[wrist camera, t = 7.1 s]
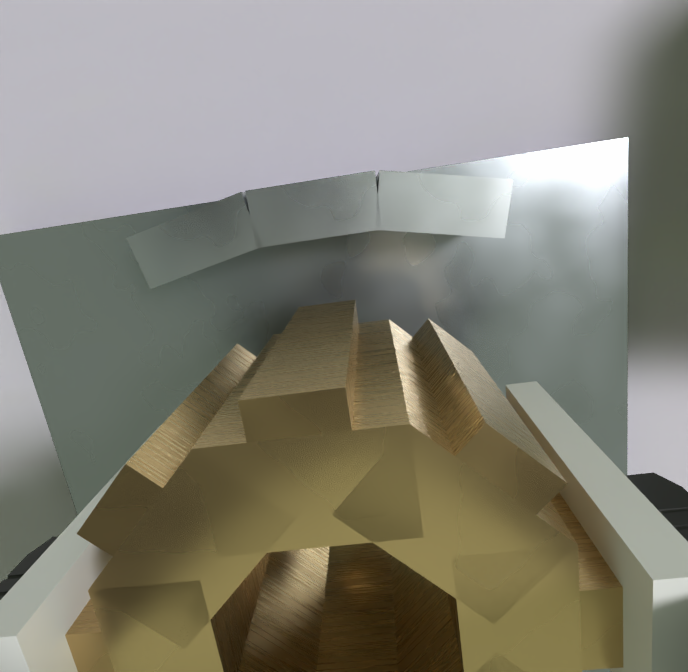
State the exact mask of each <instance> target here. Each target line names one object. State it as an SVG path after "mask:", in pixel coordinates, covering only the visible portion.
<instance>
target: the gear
mask: <svg viewBox="0 0 688 672" xmlns="http://www.w3.org/2000/svg"><path fill="white" fill-rule="evenodd" d="M567 484H568V483H567V482H566V480H565V479H564V477H563V476H562V475H561V473H560V472H559V471H558V469H557V468H556V466H555V465H554V464H553V462H552V461H551V460H550V458H549V457H548V455H547V454H546V453H545V451H544V450H543V448H542V447H541V446H540V444H539V443H538V442H537V440H536V439H535V437H534V436H533V435H532V433H531V432H530V430H529V429H528V428H527V426H526V425H525V424H524V422H523V421H522V419H521V418H520V417H519V415H518V414H517V412H516V411H515V410H514V408H513V407H512V406H511V404H510V403H509V401H508V400H507V399H506V397H505V396H504V395H503V393H502V392H501V390H500V389H499V388H498V386H497V385H496V383H495V382H494V381H493V379H492V378H491V377H490V375H489V374H488V372H487V371H486V370H485V368H484V367H483V365H482V364H481V363H480V361H479V360H478V359H477V357H476V356H475V354H474V353H473V352H472V351H471V350H470V349H468V348H467V347H466V346H464V345H463V344H462V343H460V342H459V341H458V340H457V339H455V338H454V337H453V336H451V335H450V334H449V333H447V332H446V331H445V330H443V329H442V328H441V327H439V326H438V325H437V324H435V323H434V322H433V321H431V320H430V319H429V318H428V319H427V320H426V322H425V323H424V324H423V325H422V327H421V328H420V329H419V330H418V331H417V333H416V334H415V335H414V336H413V337H412V336H411V335H410V334H408V333H407V332H406V331H404V330H403V329H402V328H400V327H399V326H397V325H396V324H395V323H393V322H392V321H391V320H389V319H386V320H379V321H371V322H364V323H359V321H358V314H357V307H356V300H347V301H340V302H333V303H325V304H318V305H311V306H303V307H299V308H298V309H297V311H296V312H295V314H294V315H293V317H292V319H291V320H290V322H289V323H288V325H287V326H286V328H285V329H284V331H283V332H282V333H280V334H274V335H273V336H272V337H271V339H270V340H269V341H268V343H267V344H266V345H265V347H264V348H263V350H262V351H261V352H260V354H259V355H258V356H257V357H256V356H255V355H253V354H252V353H250V352H249V351H248V350H246V349H245V348H243V347H242V346H241V345H239V344H238V343H237V344H236V345H235V346H234V347H233V349H232V350H231V351H230V352H229V353H228V354H227V355H226V356H225V357H224V358H223V359H222V360H221V361H220V363H219V364H218V365H217V366H216V367H215V368H214V369H213V370H212V371H211V372H210V373H209V374H208V375H207V377H206V378H205V379H204V380H203V381H202V382H201V383H200V384H199V385H198V386H197V387H196V388H195V389H194V391H193V392H192V393H191V394H190V395H189V396H188V397H187V398H186V399H185V400H184V401H183V402H182V403H181V405H180V406H179V407H178V408H177V409H176V410H175V411H174V412H173V413H172V414H171V415H170V416H169V417H168V419H167V420H166V421H165V422H164V423H163V424H162V425H161V426H160V427H159V428H158V429H157V430H156V431H155V433H154V434H153V435H152V436H151V437H150V438H149V439H148V440H147V441H146V442H145V443H144V444H143V445H142V447H141V448H140V449H139V450H138V451H137V452H136V453H135V454H134V455H133V456H132V457H131V458H130V459H129V460H128V462H127V463H126V464H125V465H124V467H123V468H122V469H121V471H120V472H119V474H118V475H117V477H116V478H115V479H114V481H113V482H112V484H111V485H110V487H109V488H108V489H107V491H106V492H105V494H104V495H103V497H102V498H101V499H100V501H99V502H98V504H97V505H96V507H95V508H94V510H93V511H92V512H91V514H90V515H89V517H88V518H87V520H86V521H85V522H84V524H83V525H82V527H81V528H80V530H79V531H78V532H77V535H79V536H80V537H82V538H84V539H85V540H87V541H89V542H90V543H92V544H93V545H95V546H97V547H98V548H100V549H101V550H103V551H105V552H106V553H108V554H109V555H111V556H112V558H111V559H110V560H109V562H108V563H107V565H106V566H105V567H104V569H103V570H102V572H101V573H100V574H99V576H98V577H97V579H96V580H95V581H94V583H93V584H92V585H91V587H90V588H89V590H88V593H89V596H90V600H89V601H88V603H87V604H86V606H85V607H84V609H83V610H82V611H81V613H80V614H79V616H78V617H77V619H76V620H75V621H74V623H73V624H72V626H71V627H70V629H69V630H68V631H67V633H66V634H65V637H66V640H67V642H68V645H69V648H70V651H71V654H72V657H73V659H74V662H75V665H76V668H77V671H78V672H582V670H595V669H609V668H622V667H623V587H622V585H621V584H620V582H619V581H618V579H617V578H616V576H615V575H614V573H613V572H612V570H611V569H610V567H609V566H608V564H607V563H606V561H605V560H604V558H603V557H602V555H601V554H600V552H599V551H598V549H597V548H596V546H595V545H594V543H593V542H592V540H591V539H590V537H589V536H588V534H587V533H586V532H585V530H584V529H583V527H582V526H581V524H580V523H579V521H578V520H577V518H576V517H575V515H574V514H573V512H572V511H571V509H570V508H569V506H568V505H567V503H566V502H565V500H564V499H563V497H562V496H561V494H560V493H559V492H560V491H561V490H562V489H563V488H564V487H565V486H566V485H567Z"/></svg>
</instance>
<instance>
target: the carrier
mask: <svg viewBox="0 0 688 672" xmlns="http://www.w3.org/2000/svg"><path fill="white" fill-rule="evenodd" d="M0 283H1V286H2V289H3V292H4V295H5V298H6V301H7V304H8V307H9V310H10V313H11V316H12V319H13V322H14V325H15V328H16V331H17V334H18V337H19V340H20V343H21V346H22V349H23V352H24V355H25V358H26V361H27V364H28V367H29V370H30V373H31V376H32V379H33V382H34V385H35V388H36V391H37V394H38V397H39V400H40V403H41V406H42V409H43V412H44V415H45V418H46V421H47V424H48V427H49V430H50V433H51V436H52V439H53V442H54V445H55V448H56V451H57V454H58V457H59V460H60V463H61V466H62V470H63V473H64V476H65V479H66V482H67V485H68V488H69V491H70V494H71V497H72V500H73V503H74V506H75V509H76V512H77V515H79V514H80V512H81V511H82V510H83V509H84V508H85V507H86V506H87V505H88V504H89V503H90V501H91V500H92V499H93V498H94V497H95V496H96V495H97V494H98V493H99V492H100V490H101V489H102V488H103V487H104V486H105V485H106V484H107V483H108V482H109V481H110V479H111V478H112V477H113V476H114V475H115V474H116V473H117V472H118V471H119V470H120V469H121V467H122V466H123V465H124V464H125V463H126V462H127V461H128V460H129V459H130V458H131V456H132V455H133V454H134V453H135V452H136V451H137V450H138V449H139V448H140V447H141V445H142V444H143V443H144V442H145V441H146V440H147V439H148V438H149V437H150V436H151V435H152V433H153V432H154V431H155V430H156V429H157V428H158V427H159V426H161V425H162V424H163V423H164V422H165V421H166V420H167V419H168V417H169V416H170V415H171V414H172V413H173V412H174V411H175V410H176V409H177V408H178V407H179V406H180V405H181V403H182V402H183V401H184V400H185V399H186V398H187V397H188V396H189V395H190V394H191V393H192V392H193V391H194V389H195V388H196V387H197V386H198V385H199V384H200V383H201V382H202V381H203V380H204V379H205V378H206V377H207V375H208V374H209V373H210V372H211V371H212V370H213V369H214V368H215V367H216V366H217V365H218V364H219V363H220V361H221V360H222V359H223V358H224V357H225V356H226V355H227V354H228V353H229V352H230V351H231V350H232V349H233V347H234V346H235V345H236V344H237V343H238V344H239V345H241V346H242V347H243V348H245V349H246V350H248V351H249V352H250V353H252V354H253V355H255V356H256V357H257V356H258V355H259V354H260V352H261V351H262V350H263V348H264V347H265V345H266V344H267V343H268V341H269V340H270V339H271V337H272V336H273V335H274V334H280V333H282V332H283V331H284V329H285V328H286V326H287V325H288V323H289V322H290V320H291V319H292V317H293V315H294V314H295V312H296V311H297V309H298V308H299V307H303V306H311V305H318V304H325V303H333V302H340V301H347V300H356V307H357V314H358V321H359V323H364V322H371V321H379V320H386V319H389V320H391V321H392V322H393V323H395V324H396V325H397V326H399V327H400V328H402V329H403V330H404V331H406V332H407V333H408V334H410V335H411V336H412V337H413V336H414V335H415V334H416V333H417V331H418V330H419V329H420V328H421V327H422V325H423V324H424V323H425V322H426V320H427V319H428V318H429V319H430V320H431V321H433V322H434V323H435V324H437V325H438V326H439V327H441V328H442V329H443V330H445V331H446V332H447V333H449V334H450V335H451V336H453V337H454V338H455V339H457V340H458V341H459V342H460V343H462V344H463V345H464V346H466V347H467V348H468V349H470V350H471V351H472V352H473V353H474V354H475V356H476V357H477V359H478V360H479V361H480V363H481V364H482V365H483V367H484V368H485V370H486V371H487V372H488V374H489V375H490V377H491V378H492V379H493V381H494V382H495V383H496V385H497V386H498V388H499V389H500V390H501V392H502V393H503V395H504V396H505V397H506V386H505V385H508V384H517V383H525V382H533V381H537V382H538V383H539V384H540V385H541V387H542V388H543V389H544V390H545V391H546V392H547V393H548V394H549V395H550V396H551V397H552V398H553V399H554V400H555V401H556V402H557V404H558V405H559V406H560V407H561V408H562V409H563V410H564V411H565V412H566V413H567V414H568V415H569V416H570V417H571V418H572V419H573V420H574V422H575V423H576V424H577V425H578V426H579V427H580V428H581V429H582V430H583V431H584V432H585V433H586V434H587V435H588V436H589V437H590V439H591V440H592V441H593V442H594V443H595V444H596V445H597V446H598V447H599V448H600V449H601V450H602V451H603V452H604V453H605V454H606V455H607V457H608V458H609V459H610V460H611V461H612V462H613V463H614V464H615V465H616V466H617V467H618V468H619V469H620V470H621V471H622V472H623V474H624V475H625V476H627V377H628V137H626V138H620V139H613V140H607V141H601V142H594V143H588V144H581V145H575V146H568V147H562V148H556V149H549V150H543V151H536V152H530V153H524V154H517V155H511V156H504V157H498V158H491V159H485V160H479V161H472V162H466V163H459V164H453V165H446V166H440V167H434V168H427V169H421V170H414V171H408V172H396V171H381V170H380V171H379V173H378V175H377V176H376V177H375V171H369V172H363V173H357V174H350V175H344V176H338V177H331V178H325V179H318V180H312V181H306V182H299V183H293V184H286V185H280V186H274V187H267V188H261V189H255V190H248V191H245V192H240V193H237V194H235V195H232V196H230V197H227V198H225V199H222V200H220V201H215V202H209V203H203V204H196V205H190V206H183V207H177V208H170V209H164V210H158V211H151V212H145V213H138V214H132V215H126V216H119V217H113V218H106V219H100V220H93V221H87V222H81V223H74V224H68V225H61V226H55V227H48V228H42V229H36V230H29V231H23V232H16V233H10V234H4V235H0ZM582 672H611V671H610V669H595V670H582Z"/></svg>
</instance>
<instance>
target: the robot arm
mask: <svg viewBox="0 0 688 672" xmlns="http://www.w3.org/2000/svg"><path fill="white" fill-rule="evenodd" d="M505 386H506V399H507V400H508V401H509V403H510V404H511V406H512V407H513V408H514V410H515V411H516V412H517V414H518V415H519V417H520V418H521V419H522V421H523V422H524V424H525V425H526V426H527V428H528V429H529V430H530V432H531V433H532V435H533V436H534V437H535V439H536V440H537V442H538V443H539V444H540V446H541V447H542V448H543V450H544V451H545V453H546V454H547V455H548V457H549V458H550V460H551V461H552V462H553V464H554V465H555V466H556V468H557V469H558V471H559V472H560V473H561V475H562V476H563V477H564V479H565V480H566V482H567V483H568V484H567V485H566V486H565V487H564V488H563V489H562V490H561V491H560V492H559V493H560V494H561V496H562V497H563V499H564V500H565V502H566V503H567V505H568V506H569V508H570V509H571V511H572V512H573V514H574V515H575V517H576V518H577V520H578V521H579V523H580V524H581V526H582V527H583V529H584V530H585V532H586V533H587V534H588V536H589V537H590V539H591V540H592V542H593V543H594V545H595V546H596V548H597V549H598V551H599V552H600V554H601V555H602V557H603V558H604V560H605V561H606V563H607V564H608V566H609V567H610V569H611V570H612V572H613V573H614V575H615V576H616V578H617V579H618V581H619V582H620V584H621V585H622V587H623V667H622V668H609V669H610V671H611V672H688V492H687V491H686V490H685V489H684V488H683V487H681V486H679V485H677V484H675V483H673V482H671V481H669V480H667V479H665V478H663V477H661V476H659V475H657V474H655V473H646V474H636V475H627V476H625V475H624V474H623V472H622V471H621V470H620V469H619V468H618V467H617V466H616V465H615V464H614V463H613V462H612V461H611V460H610V459H609V458H608V457H607V455H606V454H605V453H604V452H603V451H602V450H601V449H600V448H599V447H598V446H597V445H596V444H595V443H594V442H593V441H592V440H591V439H590V437H589V436H588V435H587V434H586V433H585V432H584V431H583V430H582V429H581V428H580V427H579V426H578V425H577V424H576V423H575V422H574V420H573V419H572V418H571V417H570V416H569V415H568V414H567V413H566V412H565V411H564V410H563V409H562V408H561V407H560V406H559V405H558V404H557V402H556V401H555V400H554V399H553V398H552V397H551V396H550V395H549V394H548V393H547V392H546V391H545V390H544V389H543V388H542V387H541V385H540V384H539V383H538V382H537V381H533V382H525V383H517V384H508V385H505ZM159 427H160V426H159ZM159 427H158V428H159ZM158 428H157V429H158ZM157 429H156V430H157ZM156 430H155V431H156ZM155 431H154V432H153V433H152V435H153V434H154V433H155ZM152 435H151V436H152ZM151 436H150V437H151ZM150 437H149V438H150ZM149 438H148V439H149ZM148 439H147V440H148ZM147 440H146V441H147ZM146 441H145V442H146ZM145 442H144V443H145ZM144 443H143V444H144ZM143 444H142V445H143ZM142 445H141V447H142ZM141 447H140V448H141ZM140 448H139V449H140ZM139 449H138V450H139ZM138 450H137V451H138ZM137 451H136V452H137ZM136 452H135V453H136ZM135 453H134V454H135ZM134 454H133V455H134ZM133 455H132V456H133ZM132 456H131V457H132ZM127 462H128V461H127ZM127 462H126V463H127ZM126 463H125V464H126ZM125 464H124V465H125ZM124 465H123V466H122V467H121V469H122V468H123V467H124ZM121 469H120V470H119V471H118V472H117V473H116V474H115V475H114V476H113V477H112V478H111V479H110V481H109V482H108V483H107V484H106V485H105V486H104V487H103V488H102V489H101V490H100V492H99V493H98V494H97V495H96V496H95V497H94V498H93V499H92V500H91V501H90V503H89V504H88V505H87V506H86V507H85V508H84V509H83V510H82V511H81V512H80V514H79V515H78V516H77V517H76V518H75V519H74V520H73V521H72V522H71V523H70V524H69V526H68V527H67V528H66V529H65V530H64V531H63V532H62V533H61V534H60V535H59V536H57V537H52V538H51V539H49V540H48V541H47V542H45V543H44V544H42V545H41V546H40V547H38V548H37V549H35V550H34V551H32V552H31V553H30V554H28V555H27V556H26V557H25V558H24V559H23V560H22V561H21V562H20V563H19V564H18V565H17V567H16V568H15V569H14V570H13V571H12V572H11V573H10V574H9V575H8V579H6V580H3V581H2V582H1V583H0V672H78V671H77V668H76V665H75V662H74V659H73V657H72V654H71V651H70V648H69V645H68V642H67V640H66V637H65V634H66V633H67V631H68V630H69V629H70V627H71V626H72V624H73V623H74V621H75V620H76V619H77V617H78V616H79V614H80V613H81V611H82V610H83V609H84V607H85V606H86V604H87V603H88V601H89V600H90V596H89V593H88V590H89V588H90V587H91V585H92V584H93V583H94V581H95V580H96V579H97V577H98V576H99V574H100V573H101V572H102V570H103V569H104V567H105V566H106V565H107V563H108V562H109V560H110V559H111V558H112V556H111V555H109V554H108V553H106V552H105V551H103V550H101V549H100V548H98V547H97V546H95V545H93V544H92V543H90V542H89V541H87V540H85V539H84V538H82V537H80V536H79V535H77V532H78V531H79V530H80V528H81V527H82V525H83V524H84V522H85V521H86V520H87V518H88V517H89V515H90V514H91V512H92V511H93V510H94V508H95V507H96V505H97V504H98V502H99V501H100V499H101V498H102V497H103V495H104V494H105V492H106V491H107V489H108V488H109V487H110V485H111V484H112V482H113V481H114V479H115V478H116V477H117V475H118V474H119V472H120V471H121Z"/></svg>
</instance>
